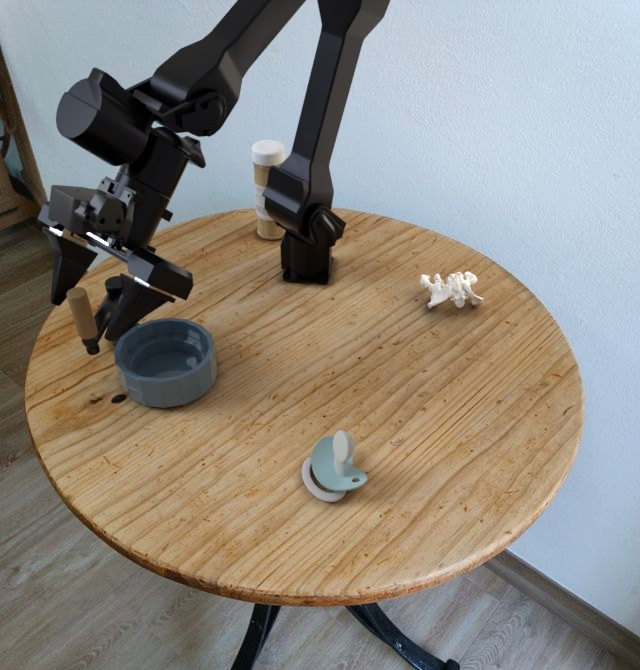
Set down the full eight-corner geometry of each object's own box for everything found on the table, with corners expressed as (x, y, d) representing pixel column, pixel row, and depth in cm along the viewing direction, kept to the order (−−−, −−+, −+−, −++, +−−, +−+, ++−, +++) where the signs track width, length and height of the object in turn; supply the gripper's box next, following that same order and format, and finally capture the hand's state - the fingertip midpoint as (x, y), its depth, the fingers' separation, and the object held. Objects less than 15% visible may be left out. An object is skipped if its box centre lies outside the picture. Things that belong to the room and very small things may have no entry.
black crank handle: (121, 325, 87) (99, 237, 78) (141, 327, 86) (122, 239, 77) (88, 386, 79) (60, 297, 70) (110, 388, 79) (84, 299, 70)
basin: (226, 351, 85) (223, 322, 82) (204, 415, 78) (199, 386, 75) (139, 342, 86) (132, 313, 83) (108, 404, 79) (99, 375, 75)
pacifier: (319, 514, 69) (372, 495, 70) (317, 475, 64) (375, 455, 66) (291, 462, 73) (343, 445, 75) (289, 423, 69) (343, 405, 70)
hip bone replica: (475, 260, 93) (492, 285, 88) (470, 287, 96) (486, 313, 91) (418, 264, 92) (432, 289, 87) (415, 291, 95) (428, 318, 90)
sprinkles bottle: (292, 235, 104) (290, 148, 94) (266, 244, 102) (261, 156, 92) (276, 221, 107) (273, 135, 97) (251, 230, 105) (245, 143, 95)
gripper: (27, 121, 68) (-36, 265, 70) (153, 183, 60) (77, 343, 62) (108, 170, 78) (51, 295, 80) (225, 228, 69) (158, 365, 72)
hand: (80, 321), depth 73 cm, fingers open, 9 cm apart
